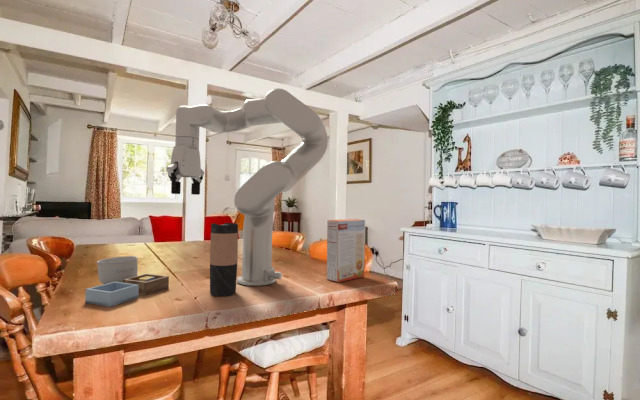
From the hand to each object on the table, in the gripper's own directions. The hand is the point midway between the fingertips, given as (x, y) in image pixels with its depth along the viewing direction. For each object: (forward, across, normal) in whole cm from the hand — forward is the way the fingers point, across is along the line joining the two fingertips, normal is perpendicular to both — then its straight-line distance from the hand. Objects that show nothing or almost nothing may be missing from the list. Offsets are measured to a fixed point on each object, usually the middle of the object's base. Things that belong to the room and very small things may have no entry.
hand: (186, 194), depth 116 cm
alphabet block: (+28, +17, +1) cm, 33 cm away
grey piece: (+29, +14, -12) cm, 34 cm away
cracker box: (+28, -22, +51) cm, 62 cm away
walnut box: (+28, +17, +1) cm, 33 cm away
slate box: (+28, +28, +1) cm, 40 cm away
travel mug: (+28, +11, +23) cm, 38 cm away
